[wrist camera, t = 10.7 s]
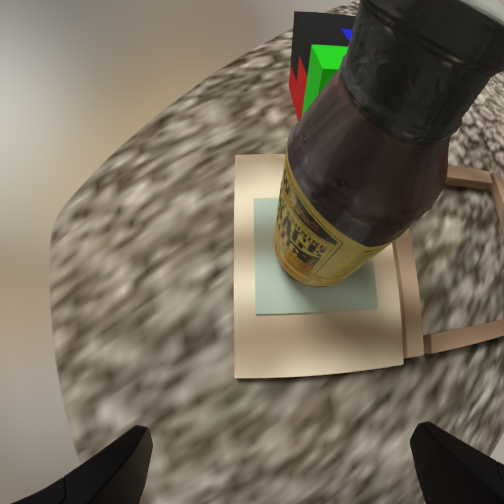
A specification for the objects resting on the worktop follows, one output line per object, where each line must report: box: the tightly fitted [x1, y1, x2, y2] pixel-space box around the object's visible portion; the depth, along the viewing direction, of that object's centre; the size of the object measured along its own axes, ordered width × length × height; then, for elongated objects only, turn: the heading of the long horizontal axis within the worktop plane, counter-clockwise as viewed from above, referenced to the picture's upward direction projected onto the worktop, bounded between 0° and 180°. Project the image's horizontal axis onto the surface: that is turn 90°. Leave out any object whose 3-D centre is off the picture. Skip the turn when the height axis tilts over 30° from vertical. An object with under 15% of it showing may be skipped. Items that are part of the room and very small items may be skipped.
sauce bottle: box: [274, 0, 504, 287], centre depth 12 cm, size 6×6×20 cm
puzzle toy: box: [289, 12, 356, 121], centre depth 23 cm, size 10×10×10 cm
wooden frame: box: [234, 154, 504, 378], centre depth 22 cm, size 18×30×2 cm, turn 91°
